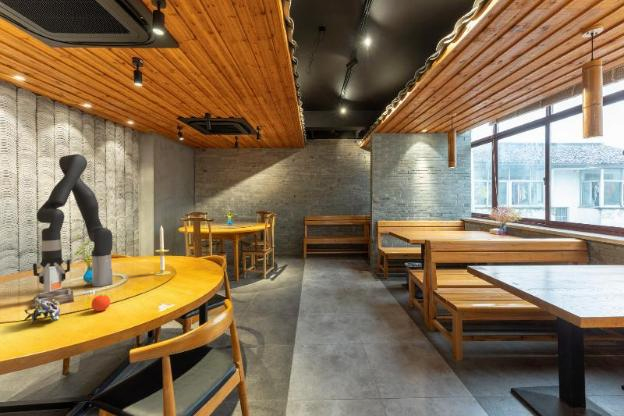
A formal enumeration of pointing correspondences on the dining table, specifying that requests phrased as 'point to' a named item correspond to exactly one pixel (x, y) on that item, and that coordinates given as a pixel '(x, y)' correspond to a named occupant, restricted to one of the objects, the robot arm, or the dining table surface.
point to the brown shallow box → (54, 297)
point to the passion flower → (45, 310)
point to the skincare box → (52, 279)
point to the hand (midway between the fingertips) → (52, 282)
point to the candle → (162, 255)
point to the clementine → (101, 302)
